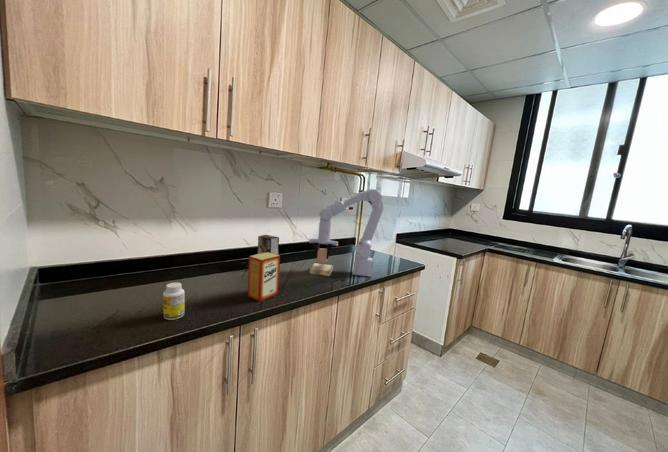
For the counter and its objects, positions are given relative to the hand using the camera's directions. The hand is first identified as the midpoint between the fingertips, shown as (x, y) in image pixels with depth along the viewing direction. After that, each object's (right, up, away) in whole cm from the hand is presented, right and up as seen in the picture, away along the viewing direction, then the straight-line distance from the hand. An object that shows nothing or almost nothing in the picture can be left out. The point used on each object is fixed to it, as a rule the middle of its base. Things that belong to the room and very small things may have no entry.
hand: (322, 257), depth 132 cm
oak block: (-1, -8, +1) cm, 8 cm away
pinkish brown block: (0, -2, 0) cm, 2 cm away
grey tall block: (-29, -5, +2) cm, 29 cm away
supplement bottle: (-43, -12, -52) cm, 69 cm away
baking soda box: (-21, -11, -32) cm, 40 cm away
